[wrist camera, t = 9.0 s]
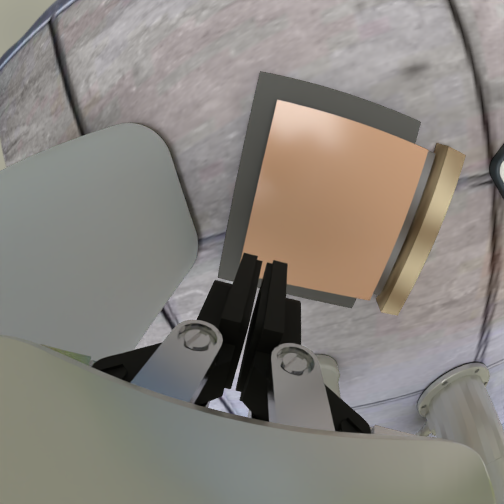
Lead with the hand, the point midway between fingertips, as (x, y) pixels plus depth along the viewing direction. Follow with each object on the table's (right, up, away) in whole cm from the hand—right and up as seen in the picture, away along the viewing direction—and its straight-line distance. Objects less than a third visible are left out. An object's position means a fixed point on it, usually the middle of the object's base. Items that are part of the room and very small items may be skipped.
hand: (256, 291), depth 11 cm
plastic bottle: (-13, +5, +15) cm, 21 cm away
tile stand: (+15, +4, +13) cm, 20 cm away
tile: (+12, +4, +12) cm, 17 cm away
